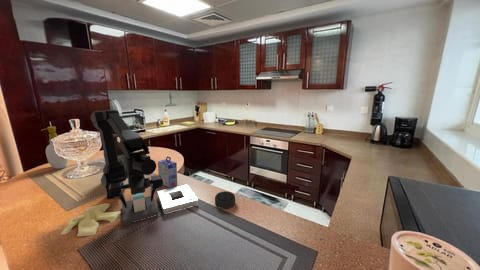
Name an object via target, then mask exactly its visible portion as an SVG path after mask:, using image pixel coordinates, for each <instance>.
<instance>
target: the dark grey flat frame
mask: <svg viewBox="0 0 480 270" xmlns="http://www.w3.org/2000/svg"><path fill="white" fill-rule="evenodd" d="M144 198H145V208H146V210H143V211H139V212H135V213H134V211H133V210H134V204H133V199H130V200H126V204H127V208H125V206H124V205H123V203H122V202H121V203H122V206H121V207H122V211H121V214H122V226H123V225H124V226H126V224H127V225H130V224H129V223H131V222H134V221H137V220H141V219H144V218H148V217H151V216H154V215H157V214H158V215H159V210H158V208H157V205H156V200H155V196H154V197H153V200H152V202H151V198H150V195H148V196H144ZM148 219H149V218H148ZM141 221H142V220H141ZM134 223H135V222H134ZM131 224H132V223H131Z"/></svg>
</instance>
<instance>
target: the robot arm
mask: <svg viewBox="0 0 480 270" xmlns="http://www.w3.org/2000/svg"><path fill="white" fill-rule="evenodd" d="M90 121H91V122H92V124H93V127H94V128H95V129H96V130H97V131H98V132H99V136H100V141H101V145H102V150H103V157H104V156H105V158H104V162H105V161H106V163H105V164H104V167H103V169H102V173H103V174H102V176H101V178H100V183H101V185H102V186H103V187H105V191H106V199H107V200H111V199H114V198H117V199H118V200H120V201H121V203H123V205H124V206H125V208H127V204H126V201H127V200H126V196H125V190H126V191H127V190H129V191H130V195H132V196H133V195H135V194H138V193H144V194H145V193H146V189H149V188H150V190H149V191H150V195H149V196H150V198H151V202H152V200H153V197H154V198H155V193H156V192H157V190H158V189H160V187H162V186H164V185H163V179H162V177H161V176H160V175H158V174H157V175H152V174H154V172H155V171H156V170H157V162H156V161H155V160H154V159H152V158H151V155H149V154H150V148H149V147H148V145H147V143H146V141H145V139H144V138H143V137H142V136H141V135H140V134H139V133H138V132H136V131H133V130H132V129H130V127H129V125H128V124H127V122H126V121H125V120H124V119H123V118H122V116H121V115H120V111H119V110H118V109H105V110H95V111H93V112H92V113H91V114H90ZM113 131H114V133H115V134H116V135H117V138H118V139H119V145H120V148H121V150H122V151H123V153H124V156H126V166H127V174H128V177H127V178H126V171H125V169H124V166H123V165H122V164H121V163H120V162H118V157H117V152H116V147H115V142H114V137H113V134H114V133H113ZM149 175H152V176H151V177H145V176H149ZM126 179H127V183H126V184H125V183H124V182H125V181H126Z"/></svg>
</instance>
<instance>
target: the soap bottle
mask: <svg viewBox="0 0 480 270" xmlns="http://www.w3.org/2000/svg"><path fill="white" fill-rule="evenodd" d="M56 127H57V126H47V128H43V129H41V130H40V131H41V132H42V131H44V130H46V129H47V131H48V133H49V134H48V137H49V139H48V141H49V144H48V145H47V146H46V148H45V155H46V159H47V160H46V161H47V162H48V164H49V165H50V167H51V168H53V169H56V170H57V169H58V170H59V169H60V170H61V169H64V168H67V164H68V159H64V158H61V157H59V156H58V155H57V154H56V153H55V151H54V147H53V143H52V142H51V139H52V138H54V137H57V138H58V134H57V133H56V129H57V128H56Z"/></svg>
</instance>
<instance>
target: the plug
mask: <svg viewBox="0 0 480 270" xmlns="http://www.w3.org/2000/svg"><path fill="white" fill-rule="evenodd" d="M144 197H145V192H144V193H138V194H135V195H132V200H133V204H134V208H133V210H134V211H133V213H135V212H139V211H143V210H147V207H146V205H145V198H144Z"/></svg>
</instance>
